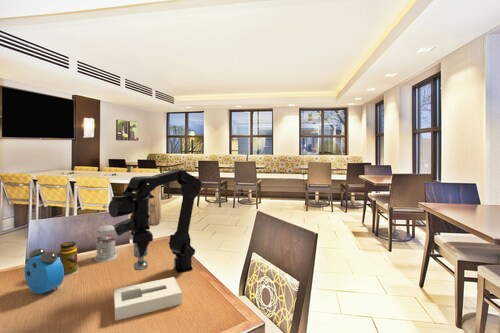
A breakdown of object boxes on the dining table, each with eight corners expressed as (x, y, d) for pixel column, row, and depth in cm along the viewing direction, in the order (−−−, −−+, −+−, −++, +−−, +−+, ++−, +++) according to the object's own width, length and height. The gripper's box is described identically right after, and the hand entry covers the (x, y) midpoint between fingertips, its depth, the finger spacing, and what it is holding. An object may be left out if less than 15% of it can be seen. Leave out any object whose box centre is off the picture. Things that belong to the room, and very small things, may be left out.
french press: (101, 263, 120) (100, 208, 118) (87, 257, 126) (86, 205, 125) (122, 256, 129) (121, 204, 127) (108, 251, 135) (107, 201, 133)
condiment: (78, 273, 111) (78, 244, 111) (53, 278, 107) (52, 248, 106) (78, 266, 117) (77, 239, 117) (54, 271, 113) (53, 242, 112)
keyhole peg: (146, 264, 102) (146, 240, 101) (148, 268, 98) (148, 244, 97) (133, 266, 100) (133, 242, 99) (134, 271, 96) (134, 246, 95)
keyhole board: (174, 287, 101) (174, 276, 101) (181, 303, 91) (181, 292, 90) (114, 300, 92) (114, 289, 92) (115, 320, 81) (114, 308, 81)
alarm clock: (65, 290, 98) (63, 250, 97) (46, 299, 92) (45, 256, 91) (42, 283, 103) (41, 244, 102) (24, 290, 97) (22, 250, 96)
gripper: (115, 208, 102) (115, 248, 103) (115, 220, 85) (116, 268, 86) (146, 206, 107) (146, 244, 108) (152, 217, 91) (153, 262, 92)
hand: (140, 254), depth 98 cm, fingers closed on keyhole peg, 5 cm apart
